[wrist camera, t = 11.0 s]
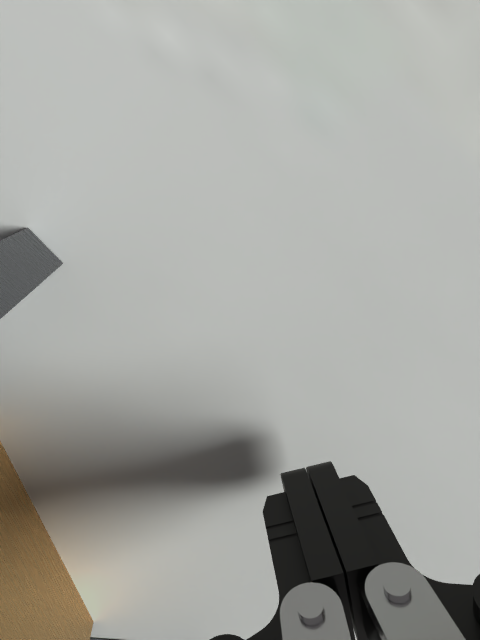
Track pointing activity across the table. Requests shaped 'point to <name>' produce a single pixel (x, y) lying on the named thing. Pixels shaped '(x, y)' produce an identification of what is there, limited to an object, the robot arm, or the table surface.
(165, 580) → the table surface
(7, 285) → the coupler dock
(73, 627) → the block
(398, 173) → the table surface
